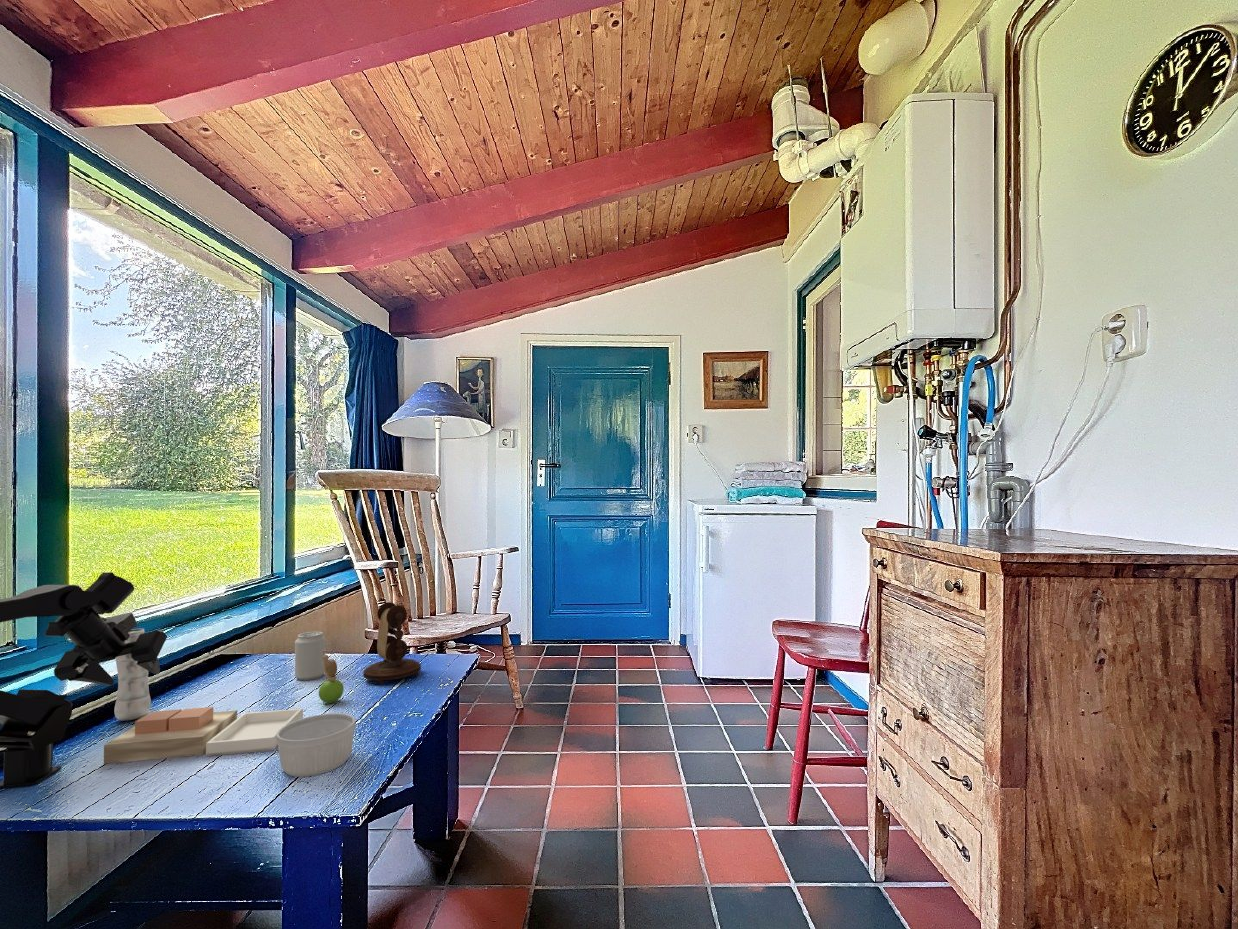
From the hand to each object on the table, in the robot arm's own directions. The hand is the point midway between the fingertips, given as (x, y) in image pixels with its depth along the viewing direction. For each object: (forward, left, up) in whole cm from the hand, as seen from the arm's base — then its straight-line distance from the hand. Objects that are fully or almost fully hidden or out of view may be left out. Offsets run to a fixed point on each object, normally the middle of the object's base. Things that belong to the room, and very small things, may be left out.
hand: (135, 678), depth 126 cm
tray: (-8, -28, -12) cm, 31 cm away
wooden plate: (-8, -12, -12) cm, 19 cm away
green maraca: (+11, -36, -12) cm, 40 cm away
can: (+34, -24, -12) cm, 43 cm away
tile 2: (-8, -15, -8) cm, 19 cm away
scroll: (+28, -47, -12) cm, 56 cm away
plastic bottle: (+10, +6, -12) cm, 16 cm away
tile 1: (-8, -9, -8) cm, 15 cm away
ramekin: (-24, -44, -12) cm, 52 cm away
